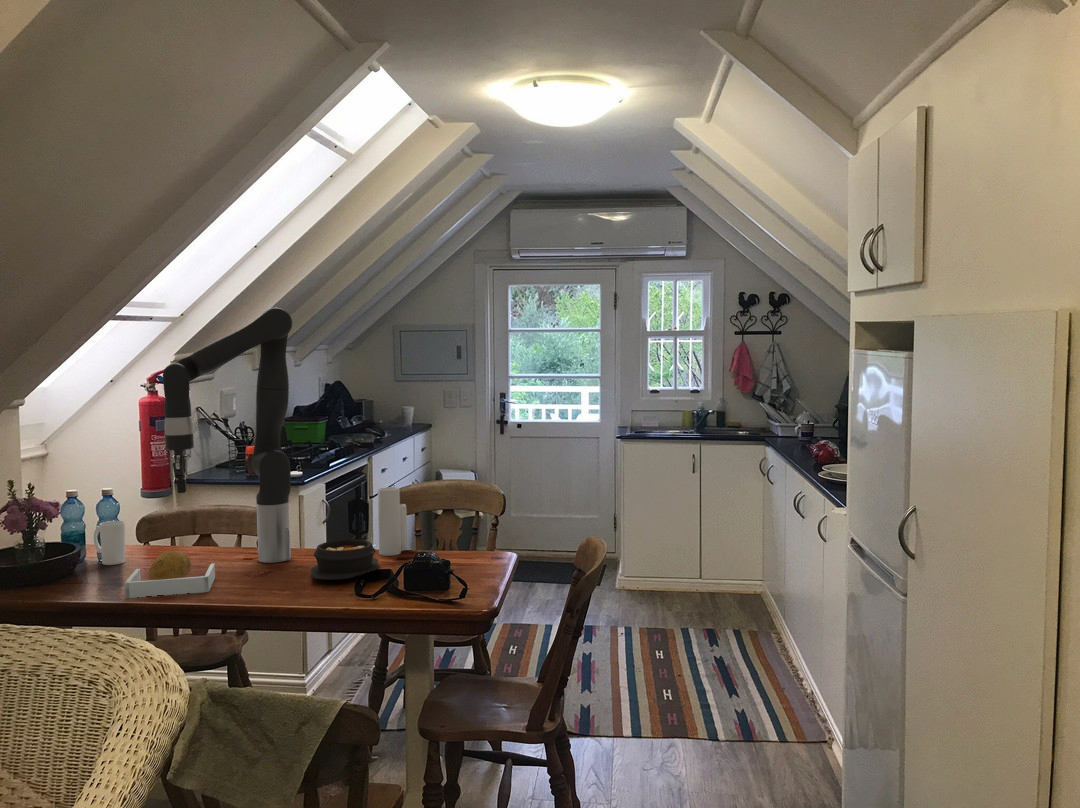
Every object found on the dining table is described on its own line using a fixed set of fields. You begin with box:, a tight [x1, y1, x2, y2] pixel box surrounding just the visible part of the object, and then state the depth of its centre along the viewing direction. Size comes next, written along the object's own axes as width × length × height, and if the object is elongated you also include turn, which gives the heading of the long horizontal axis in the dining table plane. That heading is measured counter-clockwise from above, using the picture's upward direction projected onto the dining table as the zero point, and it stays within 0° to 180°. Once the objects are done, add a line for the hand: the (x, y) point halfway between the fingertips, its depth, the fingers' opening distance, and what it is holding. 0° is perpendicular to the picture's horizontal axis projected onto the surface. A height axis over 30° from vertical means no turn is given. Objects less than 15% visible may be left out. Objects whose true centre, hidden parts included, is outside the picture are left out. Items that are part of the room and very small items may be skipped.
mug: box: [93, 520, 126, 566], centre depth 259 cm, size 10×7×12 cm, turn 75°
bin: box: [124, 563, 216, 600], centre depth 230 cm, size 20×15×4 cm
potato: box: [148, 550, 192, 580], centre depth 231 cm, size 10×13×9 cm
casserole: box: [309, 538, 380, 581], centre depth 241 cm, size 25×19×8 cm
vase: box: [377, 486, 408, 557], centre depth 268 cm, size 11×7×20 cm, turn 169°
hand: (182, 492), depth 250 cm, fingers closed
